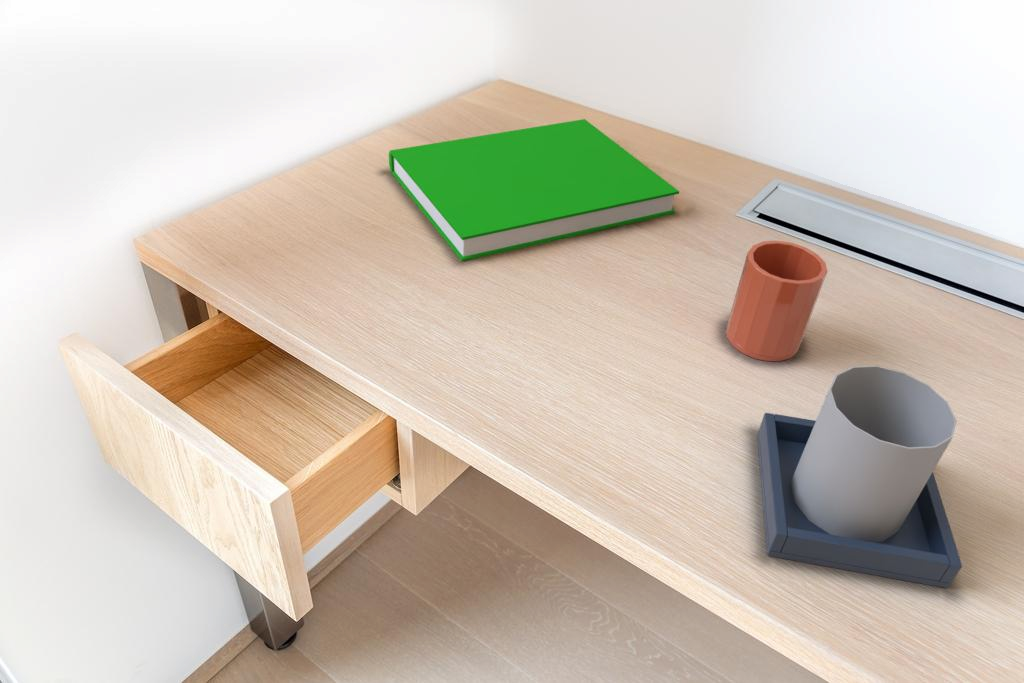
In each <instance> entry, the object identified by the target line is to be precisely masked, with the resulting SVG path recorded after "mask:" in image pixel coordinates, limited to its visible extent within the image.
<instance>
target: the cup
mask: <svg viewBox="0 0 1024 683" xmlns="http://www.w3.org/2000/svg"><path fill="white" fill-rule="evenodd" d="M815 421H816V422H815V425H814V427H813V429H812V432H811V434H810V437H809V439H808V441H807V444H806V446H805V449H804V451H803V453H802V456H801V458H800V461H799V463H798V466H797V468H796V470H795V473H794V475H793V478H792V480H791V482H790V485H791V489H792V494H793V498H794V502H795V503H796V505H797V506H798V507H799V508H800V510H801V511H802V512H803V514H804V515H805V516H806V517H807V519H808V520H809V521H810V522H812V523H813V524H815V525H817V526H818V527H820V528H821V529H823V530H824V531H826V532H827V533H829V534H830V535H835V536H840V537H846V538H852V539H857V540H863V541H869V542H883V541H884V540H886V539H887V538H889V537H890V536H892V535H893V534H895V533H897V532H898V531H899V529H900V528H901V526H902V524H903V522H904V521H905V519H906V517H907V516H908V514H909V512H910V510H911V509H912V507H913V505H914V503H915V502H916V500H917V498H918V496H919V495H920V493H921V491H922V490H923V488H924V486H925V484H926V483H927V481H928V479H929V477H930V476H931V474H932V472H933V473H934V471H935V469H936V467H937V465H938V464H939V462H940V460H941V458H942V457H943V455H944V454H945V451H946V450H947V449H948V446H949V444H950V443H951V441H952V439H953V438H954V433H955V430H956V425H957V419H956V416H955V415H954V412H953V410H952V408H951V406H950V404H949V402H948V401H947V400H946V399H945V398H944V397H942V395H940V394H939V393H938V392H937V391H936V390H935V389H934V388H932V386H931V385H929V384H928V383H927V382H924V381H921V380H920V379H918V378H916V377H914V376H912V375H910V374H908V373H906V372H904V371H901V370H896V369H891V368H887V367H884V366H880V365H860V366H859V365H858V366H851V367H849V368H847V369H844V370H843V371H841V372H839V373H837V374H835V376H834V378H833V380H832V382H831V384H830V386H829V389H828V391H827V393H826V396H825V399H824V400H823V402H822V405H821V407H820V411H819V413H818V415H817V417H816V420H815Z"/></svg>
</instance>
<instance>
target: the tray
mask: <svg viewBox="0 0 1024 683" xmlns="http://www.w3.org/2000/svg"><path fill="white" fill-rule="evenodd" d="M815 422H816V420H815V419H808V418H803V417H802V418H801V417H795V416H789V415H784V414H778V413H770V412H764V415H763V417H762V420H761V423H760V425H759V428H758V430H757V433H756V435H757V446H758V447H757V448H758V459H759V460H758V461H759V472H760V473H759V474H760V483H761V484H760V485H761V496H762V508H763V520H764V532H765V544H766V554H767V557H774V558H778V559H784V560H789V561H795V562H800V563H807V564H811V565H817V566H823V567H828V568H834V569H839V570H844V571H845V570H846V571H851V572H856V573H861V574H867V575H873V576H878V577H883V578H889V579H894V580H901V581H906V582H910V583H911V582H912V583H917V584H921V585H928V586H932V587H933V586H934V587H938V588H944V589H948V588H949V586H950V585H951V583H953V581H954V579H955V578H956V576H958V574H959V572H961V569H962V568H963V563H962V560H961V558H960V554H959V551H958V548H957V545H956V541H955V538H954V535H953V531H952V529H951V526H950V522H949V519H948V516H947V512H946V510H945V507H944V503H943V500H942V496H941V494H940V493H941V492H940V491H939V487H938V483H937V480H936V477H935V474H934V471H933V472H932V474H931V476H930V477H929V479H928V481H927V483H926V484H925V486H924V488H923V490H922V491H921V493H920V495H919V496H918V498H917V500H916V502H915V503H914V505H913V507H912V509H911V510H910V512H909V514H908V516H907V517H906V519H905V521H904V522H903V524H902V526H901V528H900V529H899V531H898V532H897V533H895V534H893V535H892V536H890V537H889V538H887V539H886V540H884V541H883V542H869V541H863V540H857V539H852V538H846V537H840V536H835V535H830V534H829V533H827V532H826V531H824V530H823V529H821V528H820V527H818V526H817V525H815V524H813V523H812V522H810V521H809V520H808V519H807V517H806V516H805V515H804V514H803V512H802V511H801V510H800V508H799V507H798V506H797V505H796V503H795V502H794V498H793V494H792V489H791V485H790V482H791V480H792V478H793V475H794V473H795V470H796V468H797V466H798V463H799V461H800V458H801V456H802V453H803V451H804V449H805V446H806V444H807V441H808V439H809V437H810V434H811V432H812V429H813V427H814V425H815Z"/></svg>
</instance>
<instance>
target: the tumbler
mask: <svg viewBox="0 0 1024 683" xmlns="http://www.w3.org/2000/svg"><path fill="white" fill-rule="evenodd" d="M827 274H828V268H827V263H826V261H824V259H823V258H822V257H821V255H819V254H818V253H816V252H814V251H813V250H812V249H809V248H807V247H805V246H802V245H800V244H798V243H795V242H794V243H793V242H791V241H783V240H767V241H765V240H764V241H761V242H758V243H756V244H753V245H752V246H751V247H750V249H749V250H748V251H747V253H746V257H745V260H744V264H743V267H742V270H741V275H740V278H739V281H738V284H737V289H736V292H735V295H734V296H735V297H734V299H733V303H732V306H731V309H730V313H729V317H728V320H727V324H726V325H727V326H726V330H725V333H726V337H727V340H728V341H729V343H730V344H731V345H732V347H734V348H735V349H736V350H737V351H739V352H741V353H742V354H744V355H746V356H748V357H750V358H753V359H757V360H760V361H765V362H781V361H786V360H788V359H791V358H793V357H795V355H796V354H797V353H798V351H799V349H800V346H801V344H802V342H803V340H804V336H805V334H806V331H807V328H808V325H809V323H810V320H811V318H812V315H813V312H814V310H815V307H816V304H817V301H818V299H819V296H820V293H821V291H822V288H823V285H824V282H825V279H826V277H827Z"/></svg>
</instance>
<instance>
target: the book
mask: <svg viewBox="0 0 1024 683" xmlns="http://www.w3.org/2000/svg"><path fill="white" fill-rule="evenodd" d="M388 167H389V170H390V173H391V174H392V176H393V177H394V178H395V179H396V181H397V182H398V184H400V186H401V187H402V189H403V190H404V191H405V192H406V193H407V194H408V196H409V197H410V198H411V200H412V201H413V202H414V204H416V206H417V207H418V208H419V210H420V211H421V212H422V214H423V215H424V216H425V218H426V219H427V220H428V221H429V222H430V223H431V225H432V226H433V227H434V228H435V230H436V231H437V233H439V235H440V236H441V237H442V239H443V240H444V241H445V242H446V244H447V245H448V246H449V247H450V249H451V250H452V251H453V252H454V254H455V255H456V256H457V257H458V259H459V260H460V262H465V261H471V260H474V259H479V258H483V257H484V258H485V257H489V256H492V255H497V254H501V253H505V252H509V251H510V252H511V251H515V250H519V249H524V248H527V247H532V246H537V245H540V244H546V243H550V242H555V241H558V240H563V239H568V238H572V237H577V236H581V235H585V234H586V235H587V234H590V233H595V232H599V231H603V230H608V229H611V228H612V229H613V228H617V227H622V226H624V225H629V224H634V223H639V222H644V221H647V220H652V219H658V218H661V217H666V216H671V215H674V214H675V213H676V210H675V209H673V203H674V199H675V196H676V195H679V194H680V190H679V189H677V188H676V187H674V186H673V185H672V184H671V183H669V182H668V181H667V180H665V179H664V178H662V177H661V176H660V175H659V174H658V173H656V172H655V171H654V170H652V169H651V168H650V167H648V166H647V165H646V164H644V163H643V162H642V161H640V160H639V159H638V158H637V157H635V156H634V155H633V154H631V153H630V152H629V151H627V150H626V149H625V148H623V147H622V146H621V145H619V144H618V143H617V142H616V141H614V140H613V139H612V138H610V137H609V136H607V135H606V134H605V133H604V132H603V131H601V130H600V129H599V128H597V127H596V126H594V125H593V124H592V123H590V122H589V121H588V119H587V120H586V118H583V119H576V120H570V121H564V122H558V123H551V124H546V125H539V126H533V127H532V126H531V127H527V128H526V127H525V128H521V129H514V130H507V131H502V132H501V131H500V132H495V133H490V134H483V135H477V136H471V137H465V138H459V139H452V140H446V141H440V142H434V143H426V144H420V145H415V146H409V147H408V146H407V147H402V148H397V149H390V150H389V152H388Z"/></svg>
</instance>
